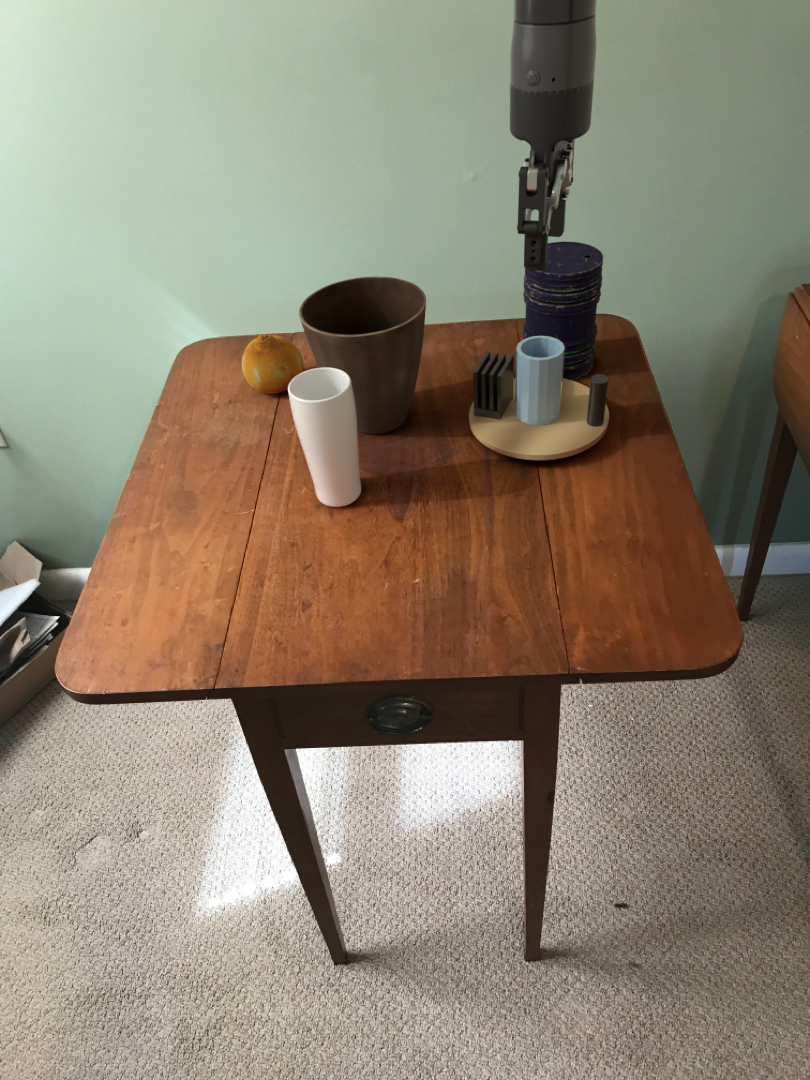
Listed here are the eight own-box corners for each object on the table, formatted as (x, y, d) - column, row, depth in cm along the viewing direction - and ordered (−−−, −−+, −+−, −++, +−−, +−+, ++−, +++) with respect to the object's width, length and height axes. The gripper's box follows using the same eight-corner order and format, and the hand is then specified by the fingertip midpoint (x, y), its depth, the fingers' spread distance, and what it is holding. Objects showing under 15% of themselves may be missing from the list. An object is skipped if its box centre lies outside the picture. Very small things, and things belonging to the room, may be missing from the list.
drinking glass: (373, 476, 92) (357, 366, 81) (362, 514, 87) (344, 402, 76) (318, 475, 93) (295, 366, 82) (304, 512, 88) (279, 401, 78)
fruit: (264, 398, 102) (273, 336, 99) (226, 385, 106) (233, 326, 104) (309, 400, 108) (318, 343, 106) (270, 388, 113) (278, 333, 110)
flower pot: (297, 431, 100) (272, 317, 89) (367, 376, 108) (352, 266, 97) (388, 466, 93) (374, 347, 82) (456, 405, 101) (451, 290, 90)
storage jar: (520, 381, 104) (523, 275, 94) (522, 344, 111) (524, 242, 101) (596, 381, 102) (607, 273, 92) (592, 344, 109) (602, 240, 99)
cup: (544, 395, 97) (547, 331, 91) (568, 416, 93) (573, 350, 87) (507, 408, 96) (508, 344, 89) (530, 430, 92) (532, 364, 86)
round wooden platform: (449, 445, 92) (446, 397, 88) (493, 373, 103) (493, 326, 99) (590, 472, 87) (595, 422, 82) (621, 391, 98) (627, 343, 93)
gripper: (578, 98, 64) (566, 284, 75) (607, 55, 73) (592, 226, 84) (490, 98, 66) (491, 278, 77) (529, 56, 75) (525, 223, 87)
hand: (544, 251), depth 81 cm, fingers open, 8 cm apart
